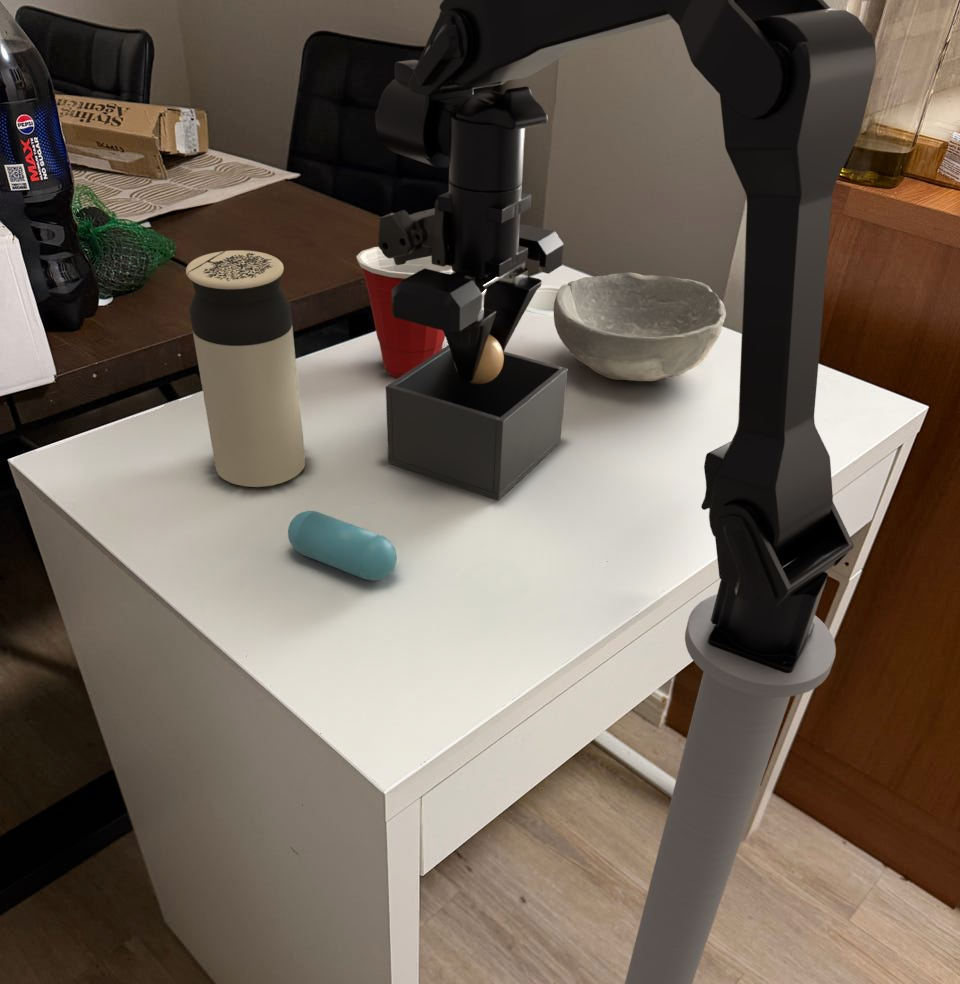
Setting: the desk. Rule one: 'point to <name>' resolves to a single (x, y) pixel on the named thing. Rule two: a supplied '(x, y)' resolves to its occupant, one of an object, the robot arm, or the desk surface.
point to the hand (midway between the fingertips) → (479, 371)
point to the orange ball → (489, 362)
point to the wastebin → (475, 422)
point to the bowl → (638, 324)
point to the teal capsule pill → (342, 545)
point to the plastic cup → (396, 336)
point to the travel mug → (247, 366)
